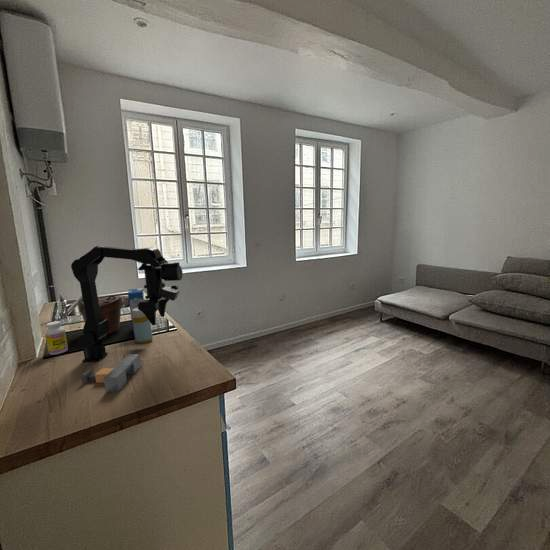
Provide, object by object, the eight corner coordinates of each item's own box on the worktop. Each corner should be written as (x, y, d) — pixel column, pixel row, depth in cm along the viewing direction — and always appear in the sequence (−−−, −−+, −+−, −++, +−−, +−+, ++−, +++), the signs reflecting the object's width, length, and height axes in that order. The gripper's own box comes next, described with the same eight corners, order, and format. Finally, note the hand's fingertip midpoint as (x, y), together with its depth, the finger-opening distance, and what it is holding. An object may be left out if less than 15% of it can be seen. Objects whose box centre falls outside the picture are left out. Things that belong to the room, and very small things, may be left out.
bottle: (132, 343, 126) (127, 310, 123) (144, 336, 132) (140, 305, 130) (144, 344, 123) (139, 311, 121) (156, 338, 130) (152, 307, 127)
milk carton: (134, 327, 146) (129, 289, 142) (147, 325, 148) (142, 287, 145) (133, 334, 137) (127, 293, 133) (147, 331, 139) (142, 291, 136)
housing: (105, 392, 89) (103, 378, 88) (130, 366, 104) (128, 354, 103) (118, 391, 89) (116, 377, 88) (141, 366, 104) (139, 353, 104)
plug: (82, 383, 94) (81, 375, 94) (90, 377, 98) (88, 369, 98) (113, 382, 95) (111, 373, 94) (119, 375, 98) (117, 367, 98)
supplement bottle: (53, 356, 116) (46, 326, 114) (46, 353, 119) (40, 324, 117) (71, 350, 121) (66, 321, 119) (64, 347, 125) (58, 319, 123)
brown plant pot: (135, 326, 147) (129, 292, 143) (94, 341, 130) (86, 303, 127) (116, 322, 156) (111, 290, 153) (76, 335, 140) (68, 300, 137)
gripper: (167, 285, 98) (171, 328, 101) (182, 275, 117) (186, 312, 119) (134, 287, 98) (140, 330, 101) (155, 277, 116) (159, 313, 119)
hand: (158, 320), depth 110 cm, fingers open, 9 cm apart
